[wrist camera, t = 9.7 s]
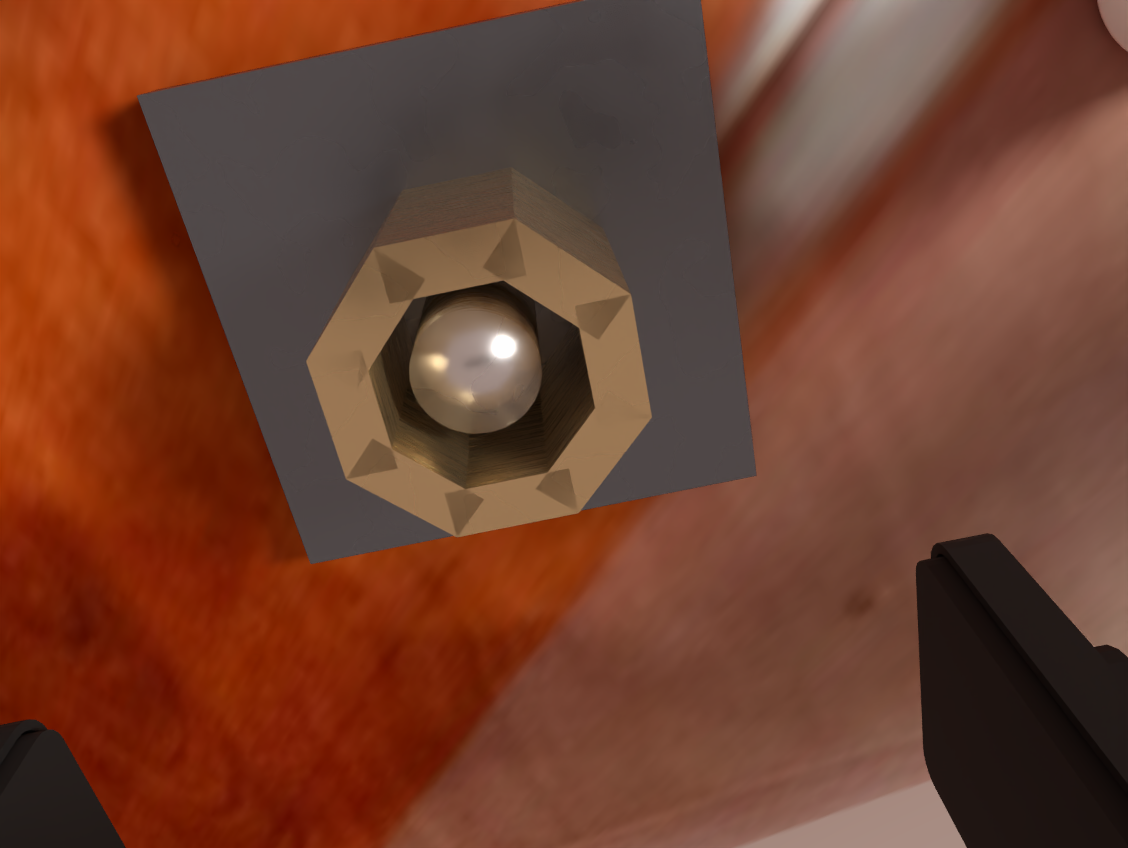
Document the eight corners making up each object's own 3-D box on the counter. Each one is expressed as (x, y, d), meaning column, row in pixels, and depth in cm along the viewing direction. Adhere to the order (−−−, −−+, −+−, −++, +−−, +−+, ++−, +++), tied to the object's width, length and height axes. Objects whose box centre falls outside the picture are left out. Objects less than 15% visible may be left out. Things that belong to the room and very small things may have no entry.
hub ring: (589, 150, 24) (614, 197, 19) (632, 394, 27) (665, 495, 22) (325, 206, 24) (274, 268, 19) (397, 442, 27) (371, 554, 22)
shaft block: (686, -23, 24) (747, -28, 18) (744, 453, 30) (804, 567, 24) (157, 89, 24) (46, 121, 18) (319, 538, 30) (275, 670, 24)
